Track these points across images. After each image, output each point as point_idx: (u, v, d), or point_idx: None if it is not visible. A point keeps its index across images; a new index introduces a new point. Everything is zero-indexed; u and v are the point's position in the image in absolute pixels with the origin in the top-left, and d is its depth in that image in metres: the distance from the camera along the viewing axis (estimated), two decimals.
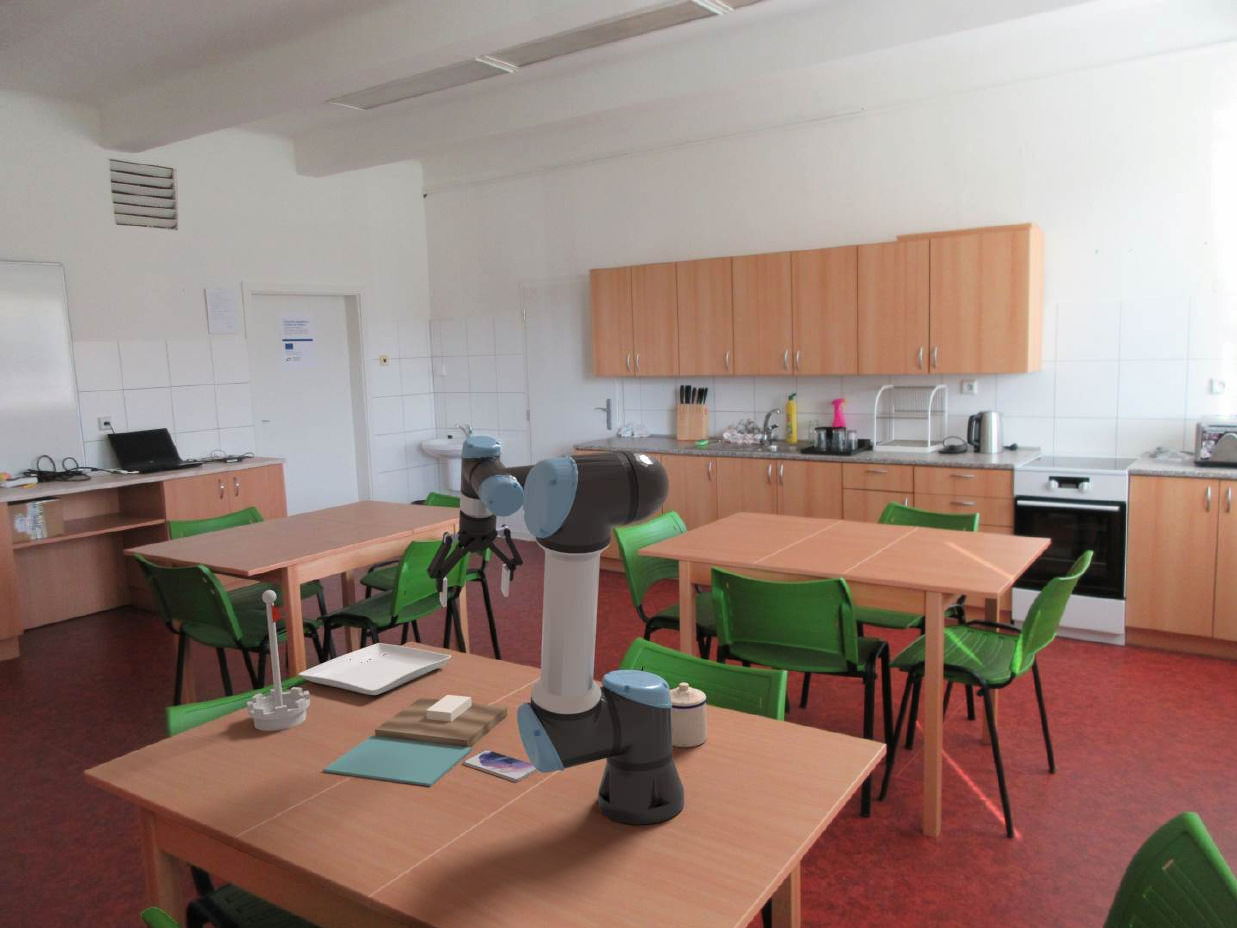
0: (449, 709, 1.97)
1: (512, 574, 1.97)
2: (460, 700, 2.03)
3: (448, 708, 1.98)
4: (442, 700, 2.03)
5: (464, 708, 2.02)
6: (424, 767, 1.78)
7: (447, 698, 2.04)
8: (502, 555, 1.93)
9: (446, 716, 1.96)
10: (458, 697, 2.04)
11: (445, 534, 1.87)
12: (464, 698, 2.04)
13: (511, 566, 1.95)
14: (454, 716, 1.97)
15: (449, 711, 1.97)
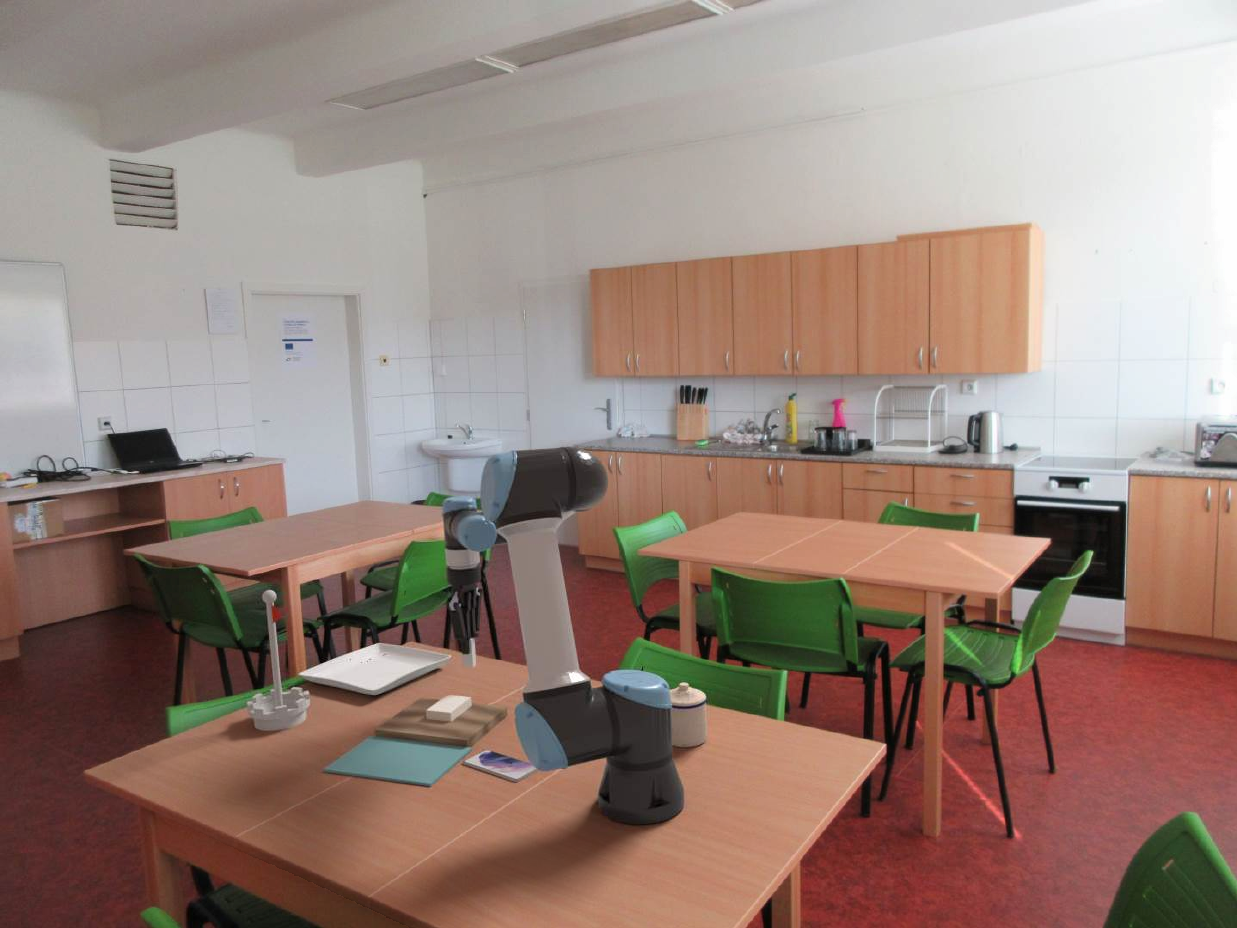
0: (449, 709, 1.97)
1: None
2: (460, 700, 2.03)
3: (448, 708, 1.98)
4: (442, 700, 2.03)
5: (464, 708, 2.02)
6: (424, 767, 1.78)
7: (447, 698, 2.04)
8: (474, 616, 2.10)
9: (446, 716, 1.96)
10: (458, 697, 2.04)
11: (449, 604, 2.02)
12: (464, 698, 2.04)
13: (474, 632, 2.10)
14: (454, 716, 1.97)
15: (449, 711, 1.97)
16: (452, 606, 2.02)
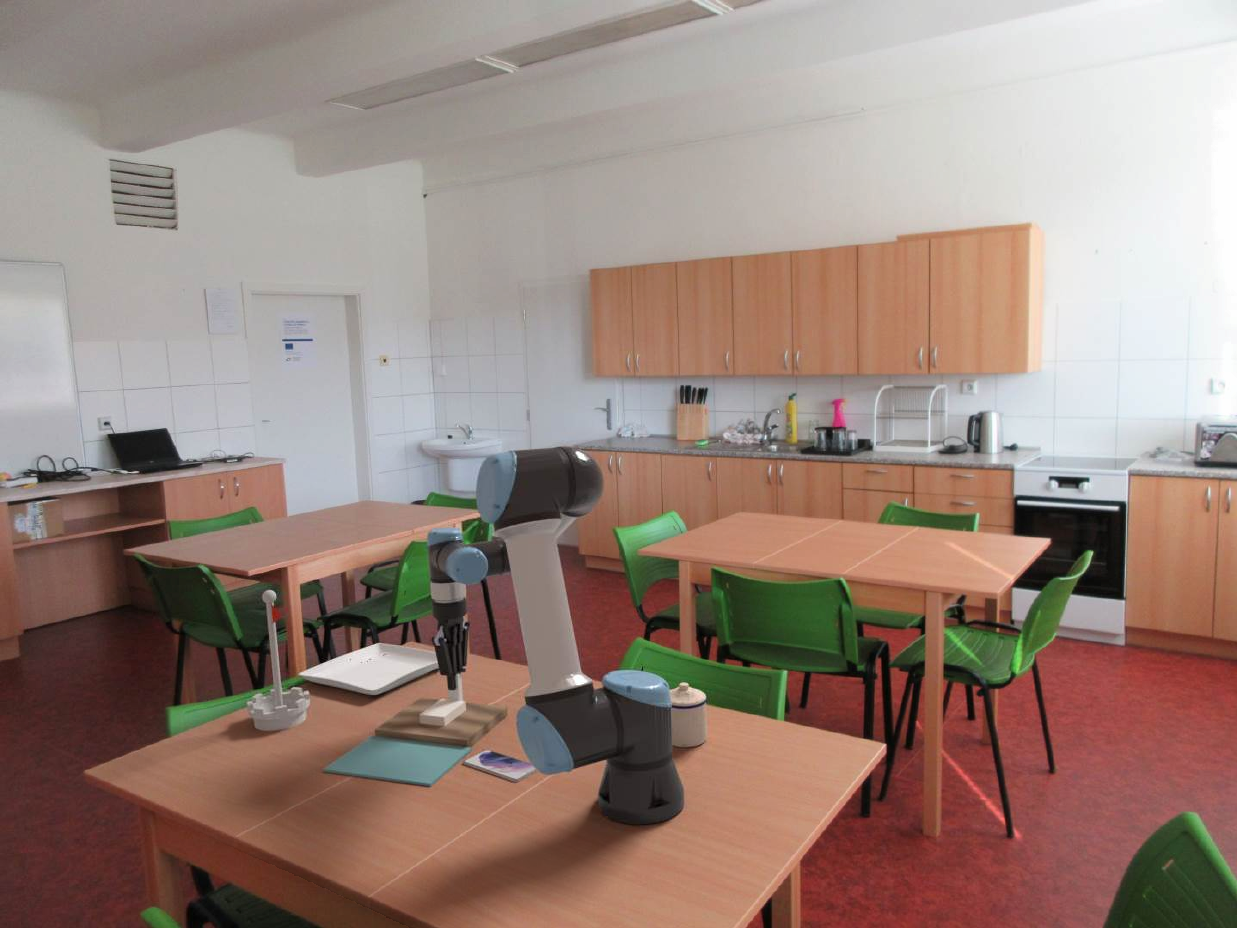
0: (443, 714, 1.95)
1: (460, 678, 2.04)
2: (454, 704, 2.00)
3: (442, 712, 1.96)
4: (436, 704, 2.01)
5: (458, 712, 1.99)
6: (424, 767, 1.78)
7: (442, 702, 2.02)
8: (460, 651, 2.03)
9: (439, 720, 1.94)
10: (452, 701, 2.02)
11: (434, 640, 1.96)
12: (458, 702, 2.01)
13: (461, 668, 2.04)
14: (448, 720, 1.95)
15: (443, 715, 1.94)
16: (437, 641, 1.96)
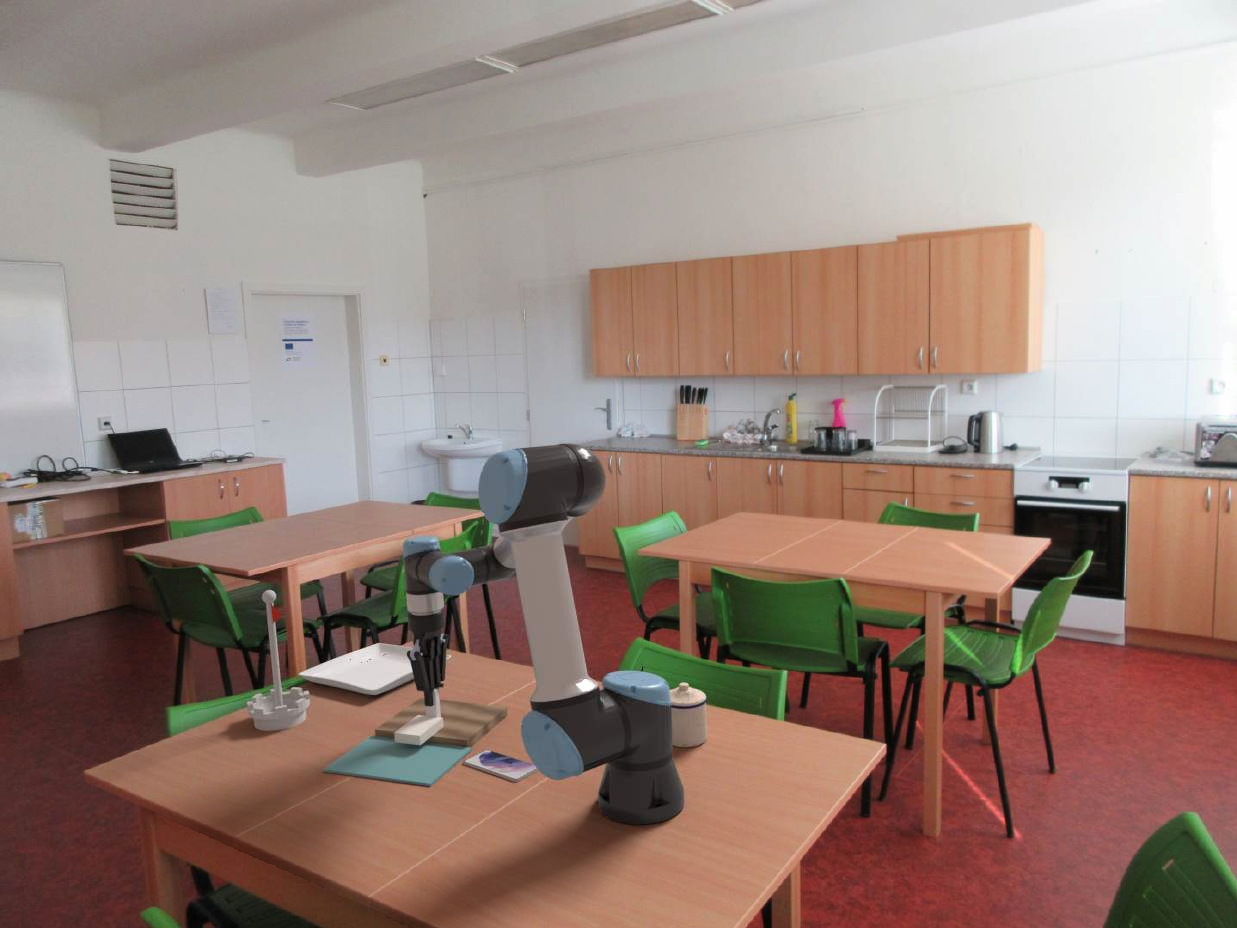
0: (418, 732, 1.86)
1: (438, 693, 1.96)
2: (431, 721, 1.92)
3: (417, 730, 1.87)
4: (412, 721, 1.92)
5: (435, 730, 1.90)
6: (424, 767, 1.78)
7: (418, 719, 1.93)
8: (438, 665, 1.95)
9: (415, 739, 1.85)
10: (429, 718, 1.93)
11: (409, 654, 1.87)
12: (435, 719, 1.93)
13: (439, 683, 1.95)
14: (424, 739, 1.86)
15: (418, 734, 1.86)
16: (413, 656, 1.87)
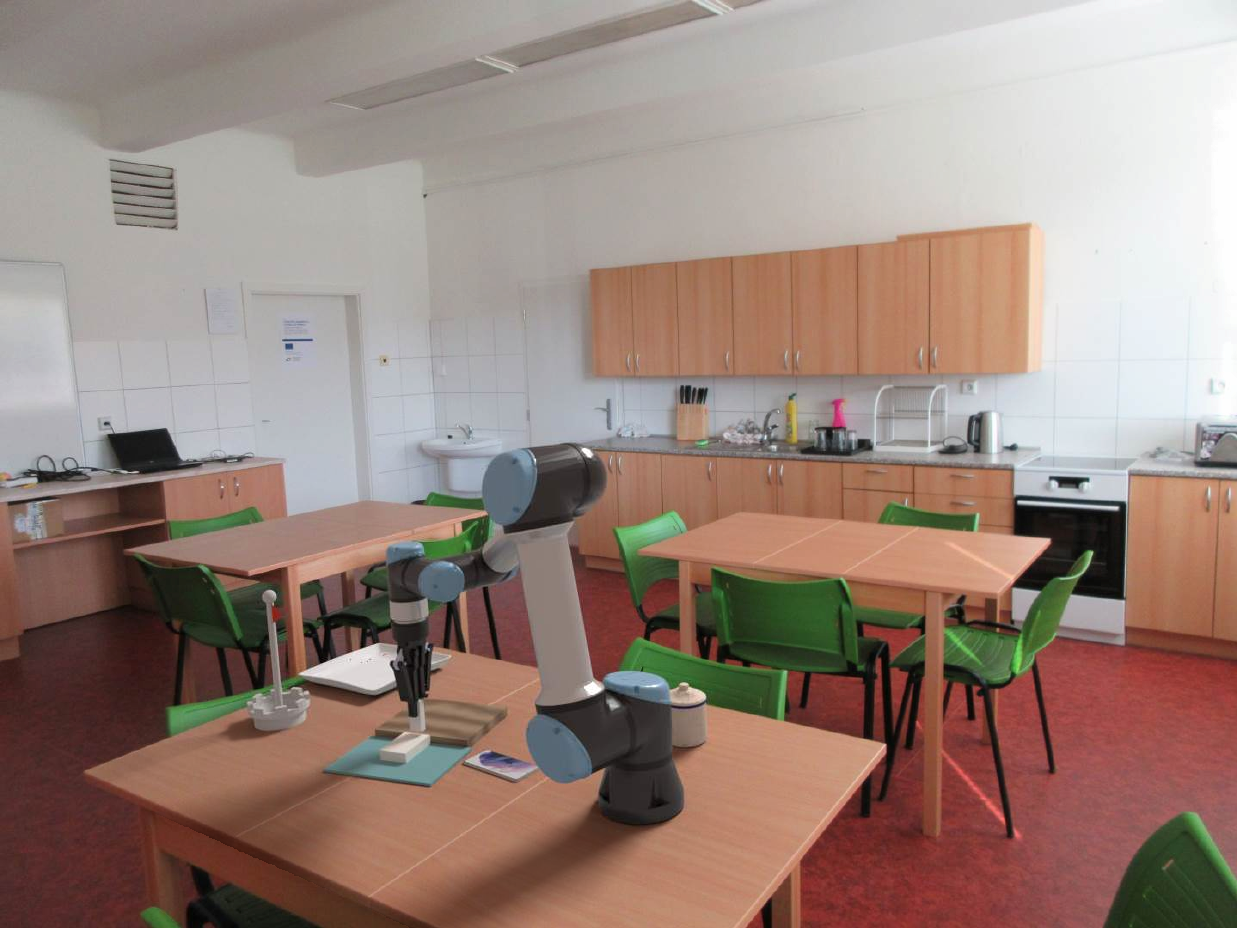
0: (404, 750, 1.82)
1: None
2: (417, 738, 1.87)
3: (403, 748, 1.83)
4: (398, 738, 1.87)
5: (422, 747, 1.86)
6: (424, 767, 1.78)
7: (404, 736, 1.88)
8: (423, 675, 1.89)
9: (401, 757, 1.81)
10: (416, 735, 1.89)
11: (393, 664, 1.82)
12: (422, 736, 1.88)
13: (423, 693, 1.89)
14: (410, 757, 1.82)
15: (404, 752, 1.81)
16: (396, 665, 1.81)
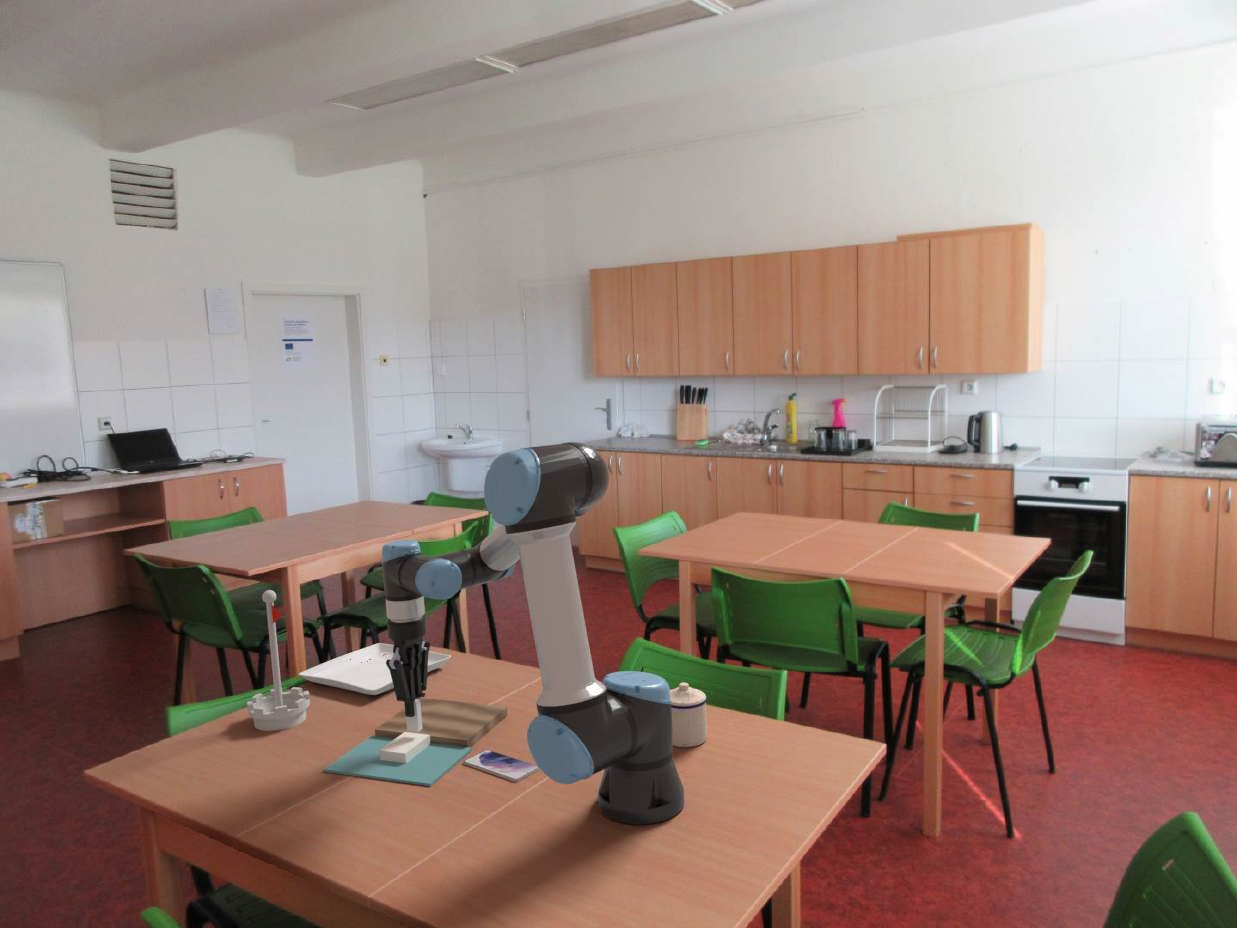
0: (404, 750, 1.82)
1: (420, 703, 1.89)
2: (417, 738, 1.87)
3: (403, 748, 1.83)
4: (398, 738, 1.87)
5: (422, 747, 1.86)
6: (424, 767, 1.78)
7: (404, 736, 1.88)
8: (419, 674, 1.88)
9: (401, 757, 1.81)
10: (416, 735, 1.89)
11: (389, 663, 1.80)
12: (422, 736, 1.88)
13: (420, 692, 1.88)
14: (410, 757, 1.82)
15: (404, 752, 1.81)
16: (392, 664, 1.80)
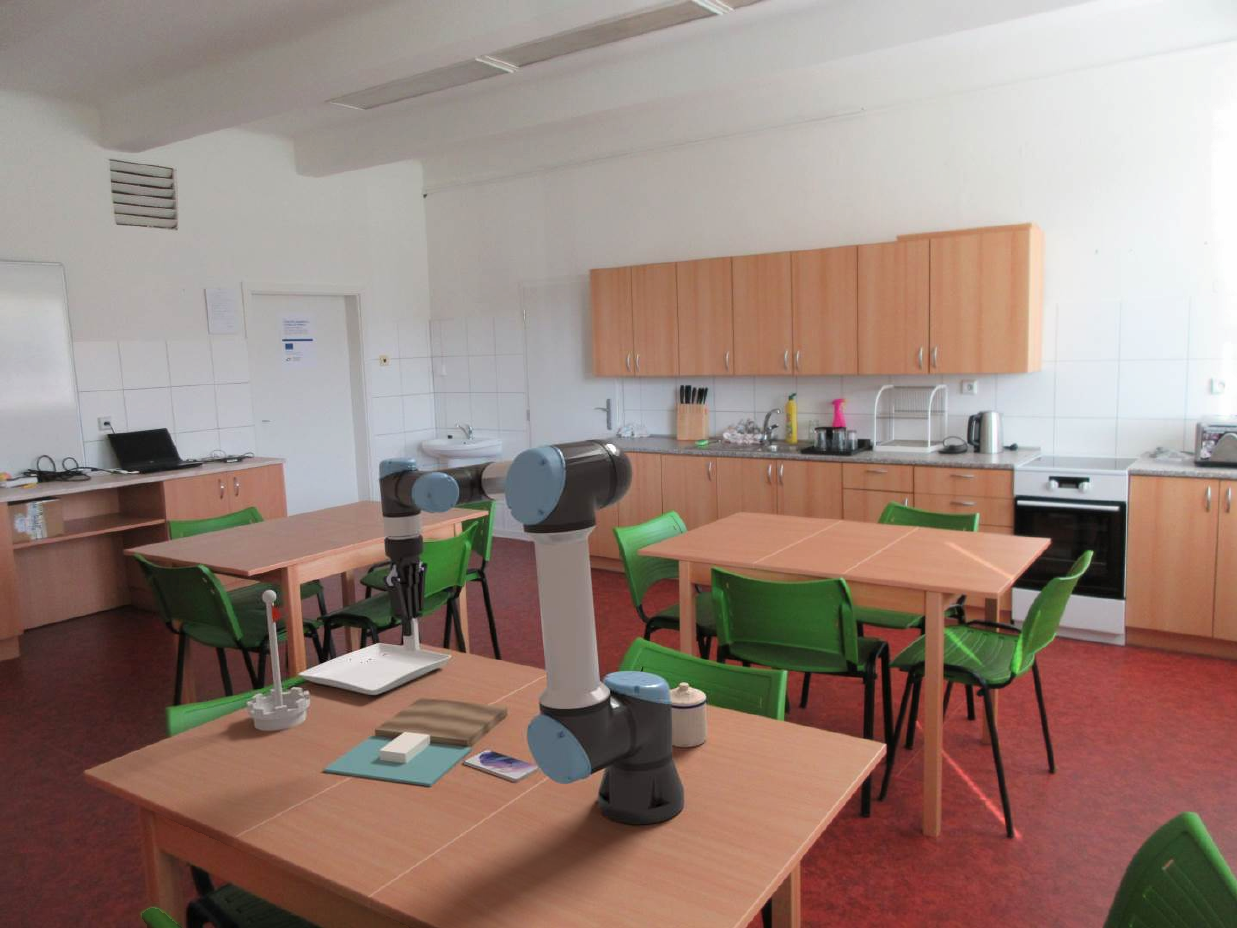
0: (404, 750, 1.82)
1: None
2: (417, 738, 1.87)
3: (403, 748, 1.83)
4: (398, 738, 1.87)
5: (422, 747, 1.86)
6: (424, 767, 1.78)
7: (404, 736, 1.88)
8: (417, 594, 1.86)
9: (401, 757, 1.81)
10: (416, 735, 1.89)
11: (386, 579, 1.79)
12: (422, 736, 1.88)
13: (417, 612, 1.86)
14: (410, 757, 1.82)
15: (404, 752, 1.81)
16: (390, 581, 1.79)
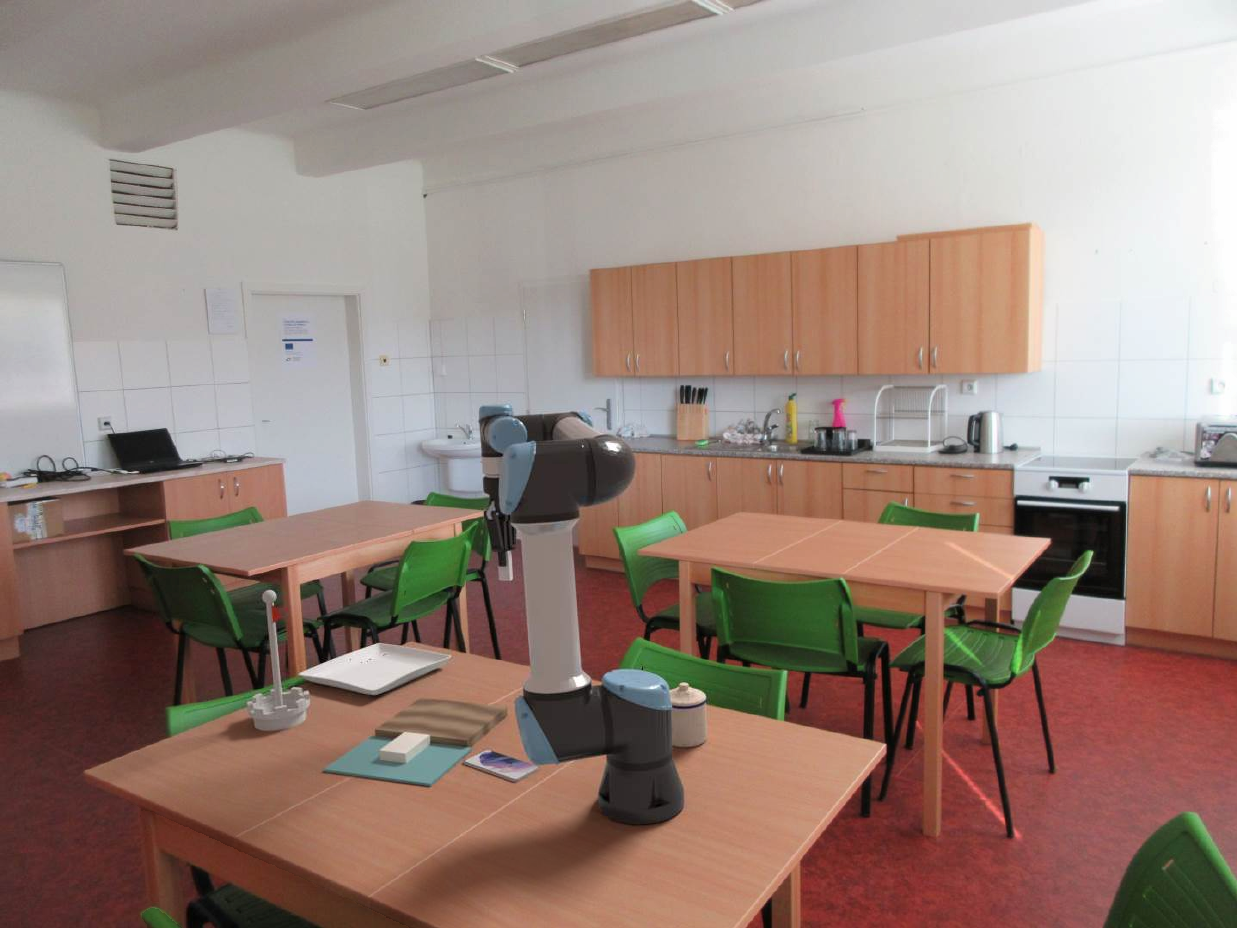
0: (404, 750, 1.82)
1: None
2: (417, 738, 1.87)
3: (403, 748, 1.83)
4: (398, 738, 1.87)
5: (422, 747, 1.86)
6: (424, 767, 1.78)
7: (404, 736, 1.88)
8: (511, 529, 2.04)
9: (401, 757, 1.81)
10: (416, 735, 1.89)
11: (486, 513, 1.97)
12: (422, 736, 1.88)
13: (511, 545, 2.05)
14: (410, 757, 1.82)
15: (404, 752, 1.81)
16: (489, 514, 1.97)
